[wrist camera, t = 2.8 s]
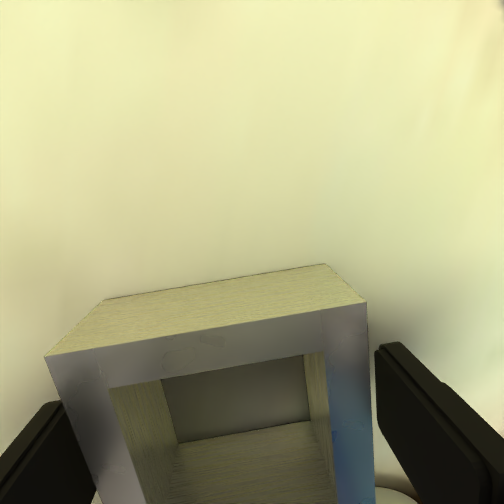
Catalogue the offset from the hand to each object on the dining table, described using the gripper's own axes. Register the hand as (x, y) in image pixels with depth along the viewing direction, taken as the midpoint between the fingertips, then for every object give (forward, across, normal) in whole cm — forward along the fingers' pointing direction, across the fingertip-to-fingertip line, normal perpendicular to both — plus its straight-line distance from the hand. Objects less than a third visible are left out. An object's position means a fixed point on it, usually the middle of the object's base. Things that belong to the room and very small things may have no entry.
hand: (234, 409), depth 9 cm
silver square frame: (+2, 0, 0) cm, 2 cm away
